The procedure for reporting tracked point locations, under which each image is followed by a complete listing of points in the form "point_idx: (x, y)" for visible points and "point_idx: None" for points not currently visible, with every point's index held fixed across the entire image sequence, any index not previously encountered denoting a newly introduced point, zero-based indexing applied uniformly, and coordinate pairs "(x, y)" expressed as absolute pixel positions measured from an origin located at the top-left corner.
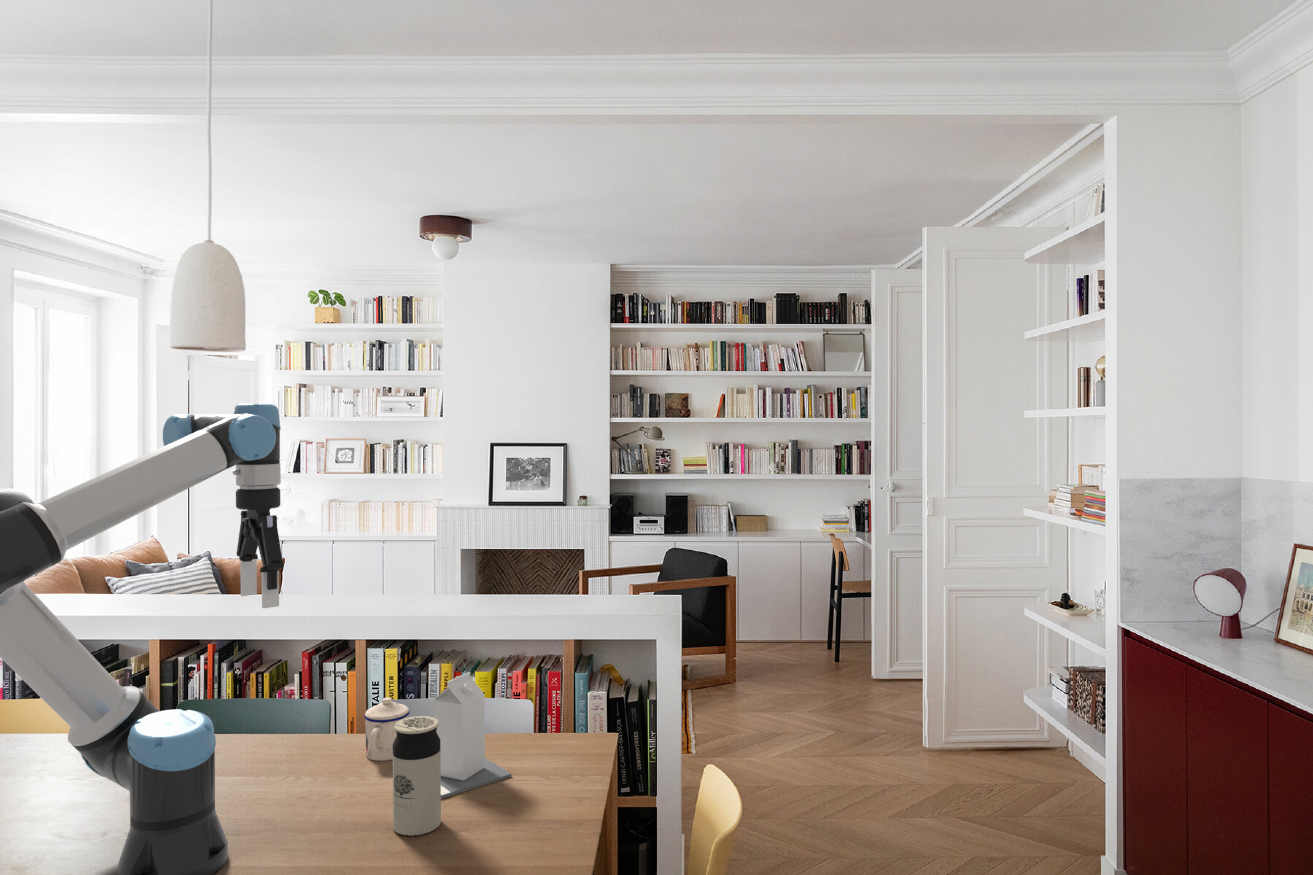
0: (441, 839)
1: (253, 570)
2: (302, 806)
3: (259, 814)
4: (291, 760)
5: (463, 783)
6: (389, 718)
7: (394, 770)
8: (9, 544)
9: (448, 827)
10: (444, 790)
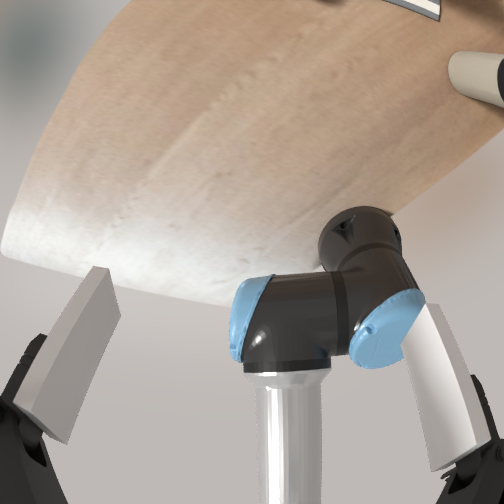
0: None
1: (61, 373)
2: (338, 109)
3: (319, 150)
4: (185, 59)
5: None
6: None
7: (500, 106)
8: None
9: None
10: (432, 5)
